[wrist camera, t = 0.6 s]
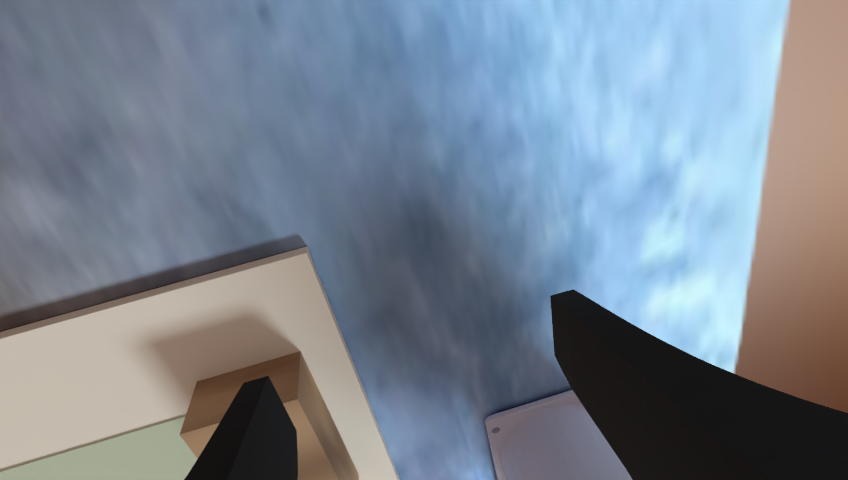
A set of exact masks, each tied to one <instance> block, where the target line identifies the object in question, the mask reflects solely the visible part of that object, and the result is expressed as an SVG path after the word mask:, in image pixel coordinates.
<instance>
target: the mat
mask: <svg viewBox="0 0 848 480" xmlns="http://www.w3.org/2000/svg"><path fill="white" fill-rule="evenodd" d="M299 351H301V353H302V355H303V357H304V359H305V361H306V364H307V366H308V368H309V370H310V372H311V374H312V376H313V378H314V381H315V383H316V385H317V387H318V389H319V391H320V393H321V395H322V397H323V400H324V402H325V404H326V406H327V408H328V410H329V412H330V414H331V417H332V419H333V421H334V423H335V425H336V427H337V429H338V431H339V434H340V436H341V438H342V440H343V442H344V444H345V446H346V448H347V451H348V453H349V455H350V457H351V459H352V461H353V463H354V465H355V468H356V470H357V472H358V474H359V480H400V478H399V476H398V473H397V471H396V468H395V466H394V463H393V461H392V458H391V456H390V453H389V451H388V448H387V446H386V443H385V441H384V438H383V436H382V433H381V431H380V428H379V426H378V423H377V421H376V418H375V416H374V413H373V411H372V408H371V406H370V403H369V401H368V398H367V396H366V393H365V390H364V388H363V385H362V383H361V380H360V378H359V375H358V373H357V370H356V368H355V365H354V363H353V360H352V358H351V355H350V353H349V350H348V348H347V345H346V343H345V340H344V338H343V335H342V333H341V330H340V328H339V325H338V323H337V320H336V318H335V315H334V313H333V310H332V308H331V305H330V303H329V300H328V298H327V295H326V293H325V290H324V288H323V285H322V283H321V280H320V278H319V275H318V273H317V270H316V268H315V265H314V262H313V260H312V257H311V255H310V252H309V250H308V247H307V246H306V247H303V248H299V249H296V250H292V251H288V252H285V253H281V254H278V255H274V256H270V257H267V258H263V259H260V260H256V261H253V262H249V263H245V264H242V265H238V266H235V267H231V268H228V269H224V270H220V271H217V272H213V273H210V274H206V275H202V276H199V277H195V278H192V279H188V280H185V281H181V282H177V283H174V284H170V285H167V286H163V287H160V288H156V289H152V290H149V291H145V292H142V293H138V294H135V295H131V296H127V297H124V298H120V299H117V300H113V301H109V302H106V303H102V304H99V305H95V306H92V307H88V308H84V309H81V310H77V311H74V312H70V313H67V314H63V315H59V316H56V317H52V318H49V319H45V320H42V321H38V322H34V323H31V324H27V325H24V326H20V327H16V328H13V329H9V330H6V331H2V332H0V480H184V479H185V478H186V476H187V475H188V473H189V472H190V470H191V469H192V467H193V465H194V464H195V462H196V461H197V457H196V456H195V455H194V453H193V452H192V451H191V449H190V448H189V447H188V445H187V444H186V443H185V441H184V440H183V439H182V437H181V436H180V432H181V429H182V425H183V422H184V419H185V416H186V413H187V410H188V407H189V404H190V401H191V398H192V395H193V392H194V389H195V386H196V383H197V381H201V380H204V379H207V378H211V377H214V376H218V375H221V374H224V373H228V372H231V371H235V370H238V369H241V368H245V367H248V366H251V365H255V364H258V363H262V362H265V361H268V360H272V359H275V358H279V357H282V356H285V355H289V354H292V353H296V352H299Z"/></svg>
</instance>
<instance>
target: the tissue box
mask: <svg viewBox="0 0 848 480" xmlns="http://www.w3.org/2000/svg"><path fill="white" fill-rule="evenodd" d="M266 376H269V378H270V380H271V382H272V384H273V385H274V387H275V389H276V391H277V393H278V395H279V397H280V399H281V401H282V403H283V405H284V407H285V409H286V411H287V413H288V415H289V417H290V419H291V421H292V423H293V425H294V427H295V428H296V430H297V451H298V479H297V480H359V474H358V472H357V470H356V468H355V465H354V463H353V461H352V459H351V457H350V455H349V453H348V451H347V448H346V446H345V444H344V442H343V440H342V438H341V436H340V434H339V431H338V429H337V427H336V425H335V423H334V421H333V419H332V417H331V414H330V412H329V410H328V408H327V406H326V404H325V402H324V400H323V397H322V395H321V393H320V391H319V389H318V387H317V385H316V383H315V381H314V378H313V376H312V374H311V372H310V370H309V368H308V366H307V364H306V361H305V359H304V357H303V355H302V353H301V351H299V352H296V353H292V354H289V355H285V356H282V357H279V358H275V359H272V360H268V361H265V362H262V363H258V364H255V365H251V366H248V367H245V368H241V369H238V370H235V371H231V372H228V373H224V374H221V375H218V376H214V377H211V378H207V379H204V380H201V381H197V383H196V386H195V389H194V392H193V395H192V398H191V401H190V404H189V407H188V410H187V413H186V416H185V419H184V422H183V425H182V429H181V432H180V436H181V437H182V439H183V440H184V441H185V443H186V444H187V445H188V447H189V448H190V449H191V451H192V452H193V453H194V455H195V456H196V457H197V459H198V457H199V456H200V454H201V453H202V451H203V449H204V448H205V446H206V444H207V443H208V441H209V440H210V438H211V436H212V435H213V433H214V431H215V430H216V428H217V426H218V425H219V423H220V421H221V420H222V418H223V416H224V414H225V413H226V411H227V409H228V408H229V406H230V404H231V403H232V401H233V399H234V398H235V396H236V394H237V393H238V391H239V389H240V388H241V386H242V385H243V383H245V382H248V381H252V380H255V379H259V378H262V377H266Z"/></svg>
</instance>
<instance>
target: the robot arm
mask: <svg viewBox="0 0 848 480" xmlns="http://www.w3.org/2000/svg"><path fill="white" fill-rule="evenodd" d="M551 310H552V324H553V338H554V352H555V357H556V359H557V361H558V363H559V365H560V367H561V369H562V371H563V373H564V375H565V377H566V378H567V380H568V382H569V384H570V386H571V388H572V390H570V391H567V392H563V393H560V394H557V395H554V396H551V397H547V398H544V399H541V400H538V401H535V402H531V403H528V404H525V405H522V406H519V407H515V408H512V409H509V410H506V411H503V412H499V413H496V414H493V415H490V416H489V417H487V419H486V420H485V425H486V430H487V434H488V439H489V443H490V448H491V453H492V457H493V462H494V467H495V471H496V476H497V480H848V413H845V412H842V411H838V410H835V409H832V408H829V407H825V406H822V405H819V404H816V403H812V402H809V401H806V400H803V399H800V398H797V397H795V396H792V395H789V394H786V393H783V392H781V391H778V390H775V389H772V388H769V387H766V386H764V385H761V384H758V383H756V382H753V381H750V380H748V379H745V378H743V377H740V376H738V375H736V374H733V373H731V372H728V371H726V370H724V369H721V368H719V367H716V366H714V365H712V364H709V363H707V362H705V361H703V360H701V359H698V358H696V357H694V356H692V355H690V354H688V353H686V352H684V351H682V350H680V349H678V348H676V347H674V346H672V345H670V344H668V343H666V342H664V341H662V340H660V339H658V338H656V337H654V336H652V335H651V334H649V333H647V332H645V331H643V330H641V329H640V328H638V327H636V326H634V325H632V324H631V323H629V322H627V321H625V320H624V319H622V318H620V317H619V316H617V315H615V314H614V313H612V312H610V311H609V310H607V309H605V308H603V307H602V306H600V305H599V304H597V303H595V302H594V301H592V300H590V299H589V298H587V297H585V296H584V295H582V294H580V293H579V292H577V291H575V290H570V291H566V292H562V293H559V294H555V295H552V296H551ZM297 479H298V451H297V430H296V428H295V427H294V425H293V423H292V421H291V419H290V417H289V415H288V413H287V411H286V409H285V407H284V405H283V403H282V401H281V399H280V397H279V395H278V393H277V391H276V389H275V387H274V385H273V384H272V382H271V380H270V378H269V376H266V377H262V378H259V379H255V380H252V381H248V382H245V383H243V385H242V386H241V388H240V389H239V391H238V393H237V394H236V396H235V398H234V399H233V401H232V403H231V404H230V406H229V408H228V409H227V411H226V413H225V414H224V416H223V418H222V420H221V421H220V423H219V425H218V426H217V428H216V430H215V431H214V433H213V435H212V436H211V438H210V440H209V441H208V443H207V444H206V446H205V448H204V449H203V451H202V453H201V454H200V456H199V457H198V459H197V461H196V462H195V464H194V465H193V467H192V469H191V470H190V472H189V473H188V475H187V476H186V478H185V479H184V480H297Z"/></svg>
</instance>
